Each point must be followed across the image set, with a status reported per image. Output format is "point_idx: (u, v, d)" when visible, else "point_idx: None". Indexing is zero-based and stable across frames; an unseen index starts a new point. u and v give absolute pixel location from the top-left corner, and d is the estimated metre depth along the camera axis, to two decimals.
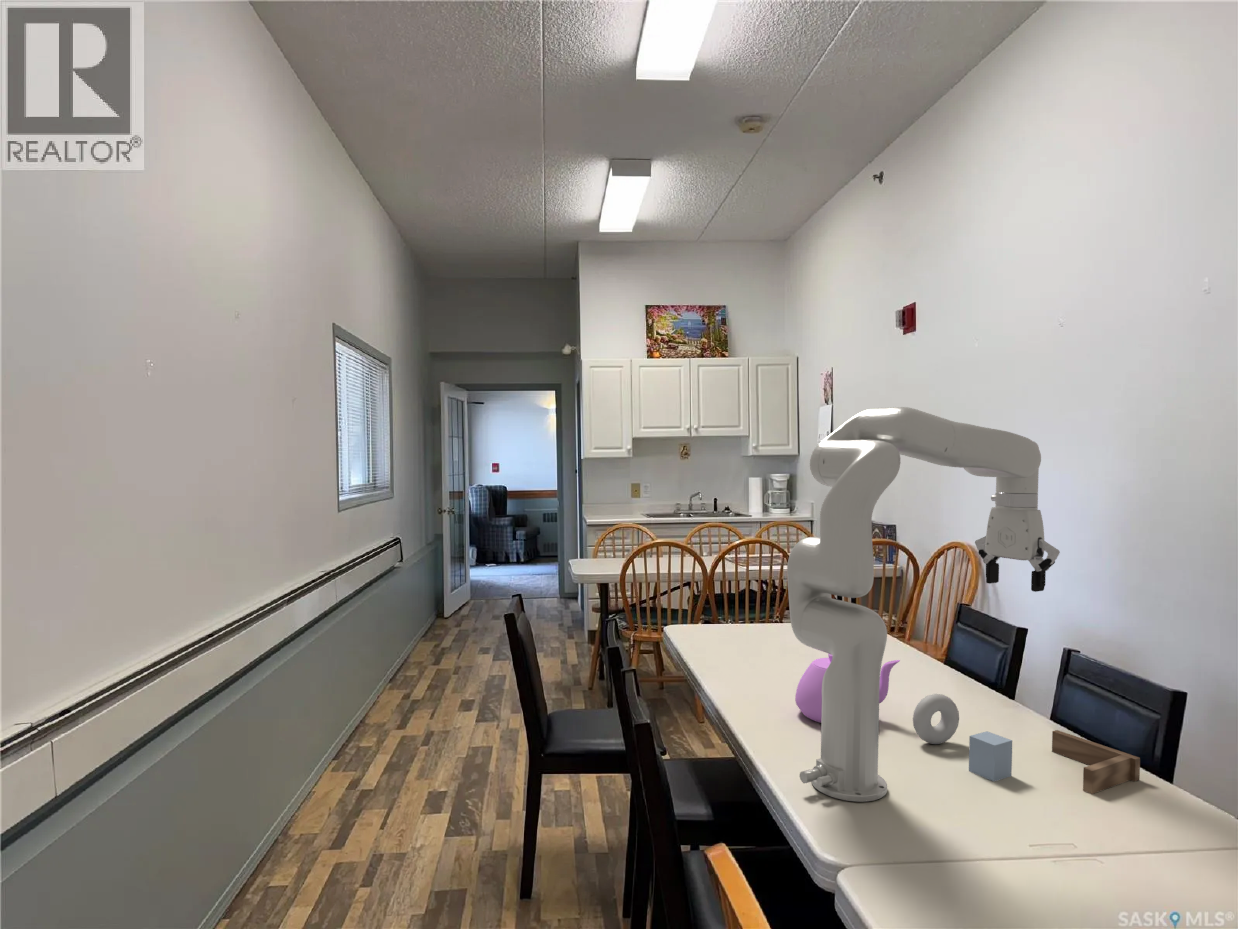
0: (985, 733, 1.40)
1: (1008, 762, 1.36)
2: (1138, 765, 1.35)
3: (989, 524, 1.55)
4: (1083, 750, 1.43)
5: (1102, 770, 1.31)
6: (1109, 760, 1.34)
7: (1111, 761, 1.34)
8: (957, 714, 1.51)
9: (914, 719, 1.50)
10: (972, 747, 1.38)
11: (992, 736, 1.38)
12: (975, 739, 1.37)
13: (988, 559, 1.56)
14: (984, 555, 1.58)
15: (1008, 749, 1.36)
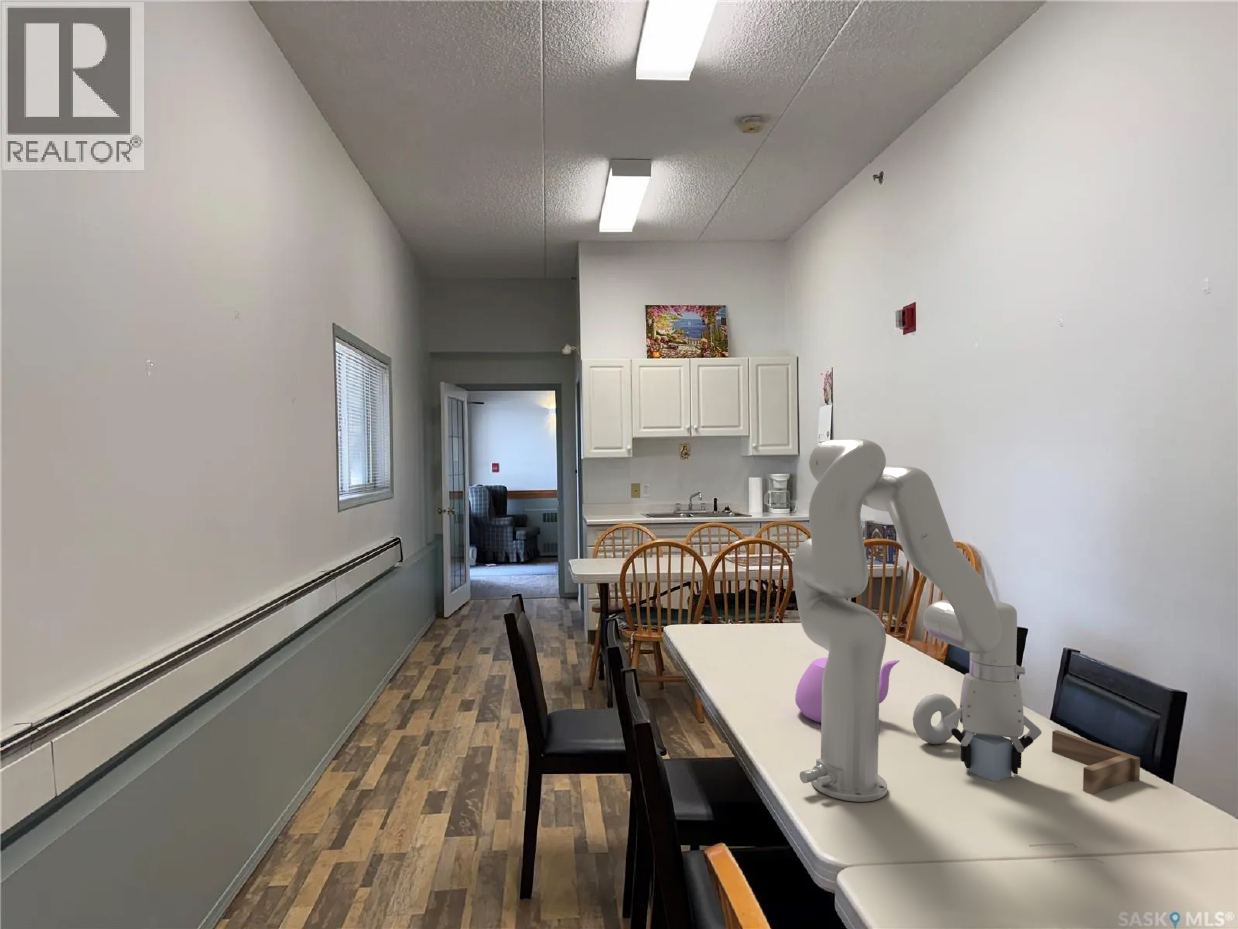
0: None
1: (1008, 762, 1.36)
2: (1138, 765, 1.35)
3: None
4: (1083, 750, 1.43)
5: (1102, 770, 1.31)
6: (1109, 760, 1.34)
7: (1111, 761, 1.34)
8: None
9: (914, 719, 1.50)
10: (972, 747, 1.38)
11: (992, 736, 1.38)
12: (975, 739, 1.37)
13: None
14: None
15: (1008, 749, 1.36)
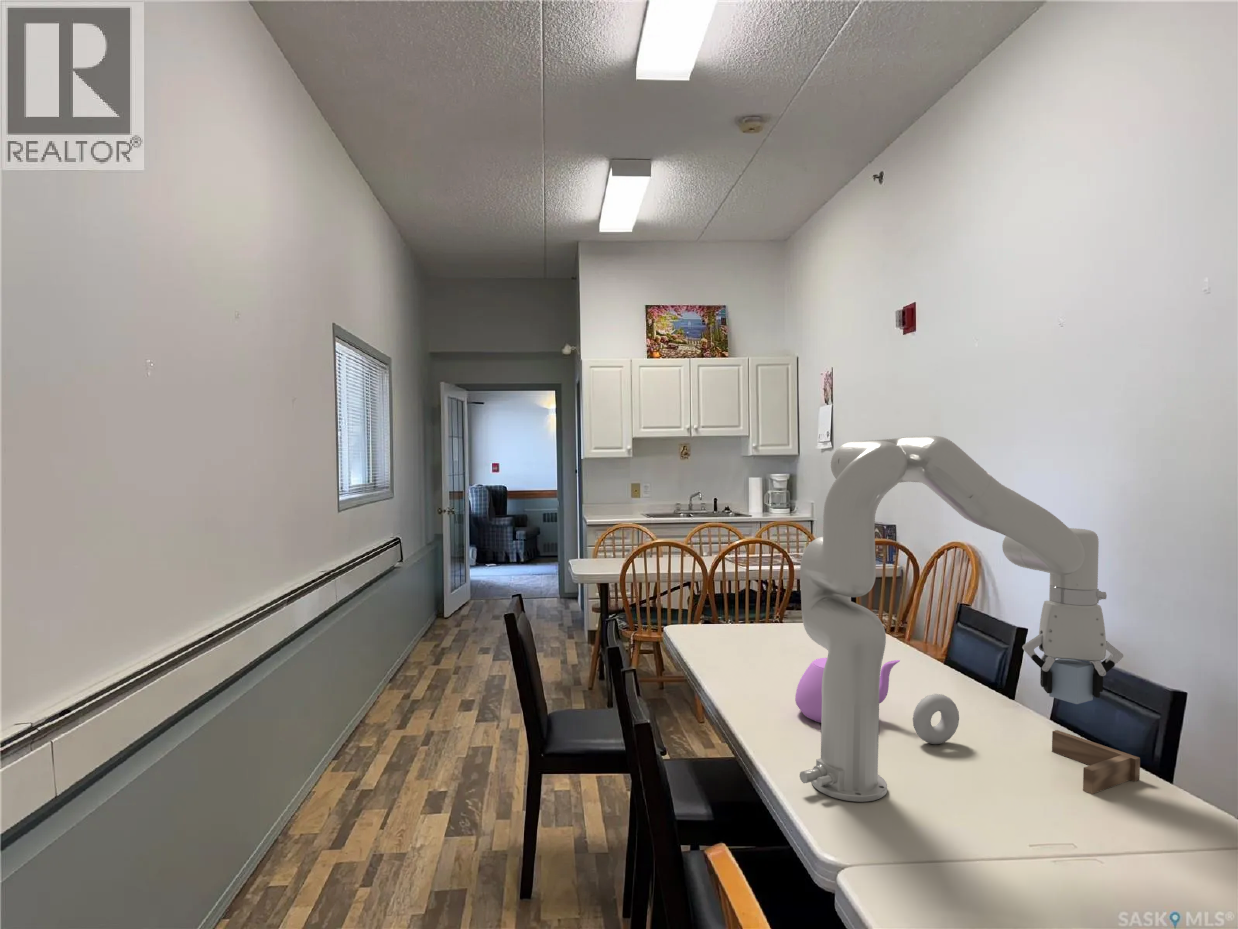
0: (1065, 659, 1.41)
1: (1090, 686, 1.37)
2: (1138, 765, 1.35)
3: None
4: (1083, 750, 1.43)
5: (1102, 770, 1.31)
6: (1109, 760, 1.34)
7: (1111, 761, 1.34)
8: (957, 714, 1.51)
9: (914, 719, 1.50)
10: (1052, 672, 1.39)
11: (1072, 661, 1.40)
12: (1056, 664, 1.39)
13: None
14: None
15: (1090, 673, 1.37)
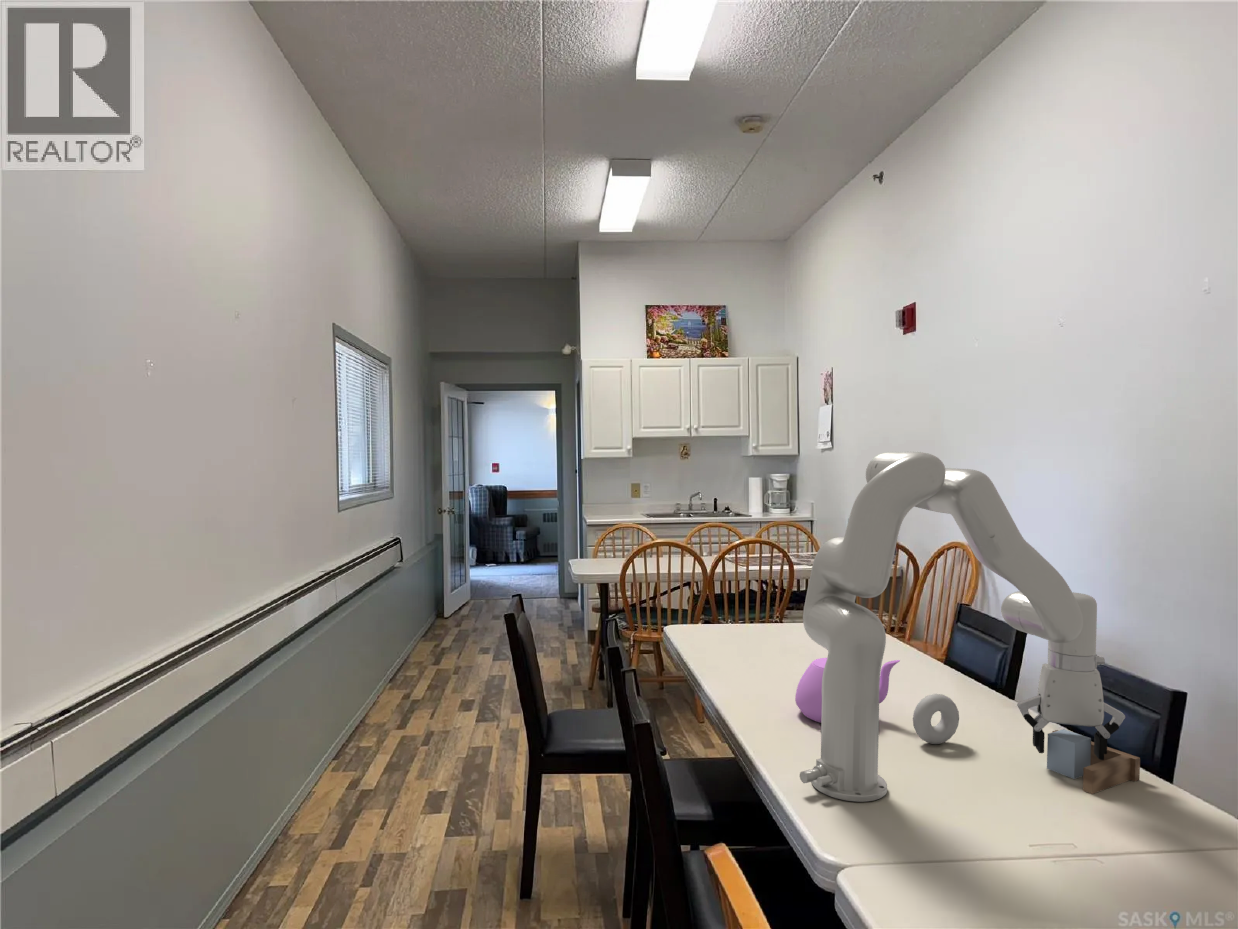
0: (1062, 731, 1.41)
1: (1087, 760, 1.38)
2: (1138, 765, 1.35)
3: None
4: None
5: (1102, 770, 1.31)
6: (1109, 760, 1.34)
7: (1111, 761, 1.34)
8: (957, 714, 1.51)
9: (914, 719, 1.50)
10: (1050, 745, 1.40)
11: (1070, 734, 1.40)
12: (1054, 737, 1.39)
13: None
14: None
15: (1087, 747, 1.38)
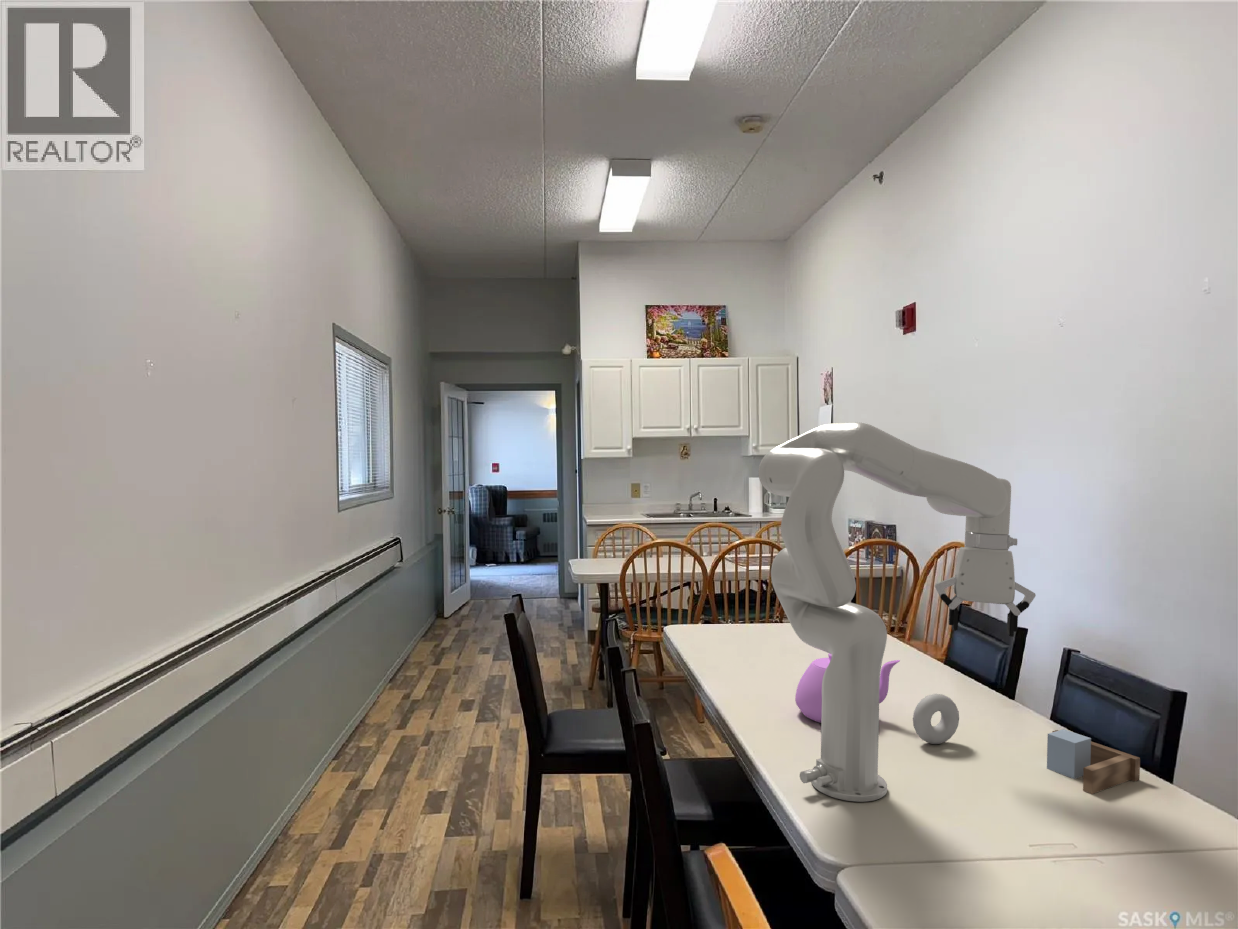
0: (1062, 731, 1.41)
1: (1087, 760, 1.38)
2: (1138, 765, 1.35)
3: None
4: None
5: (1102, 770, 1.31)
6: (1109, 760, 1.34)
7: (1111, 761, 1.34)
8: (957, 714, 1.51)
9: (914, 719, 1.50)
10: (1050, 745, 1.40)
11: (1070, 734, 1.40)
12: (1054, 737, 1.39)
13: None
14: None
15: (1087, 747, 1.38)
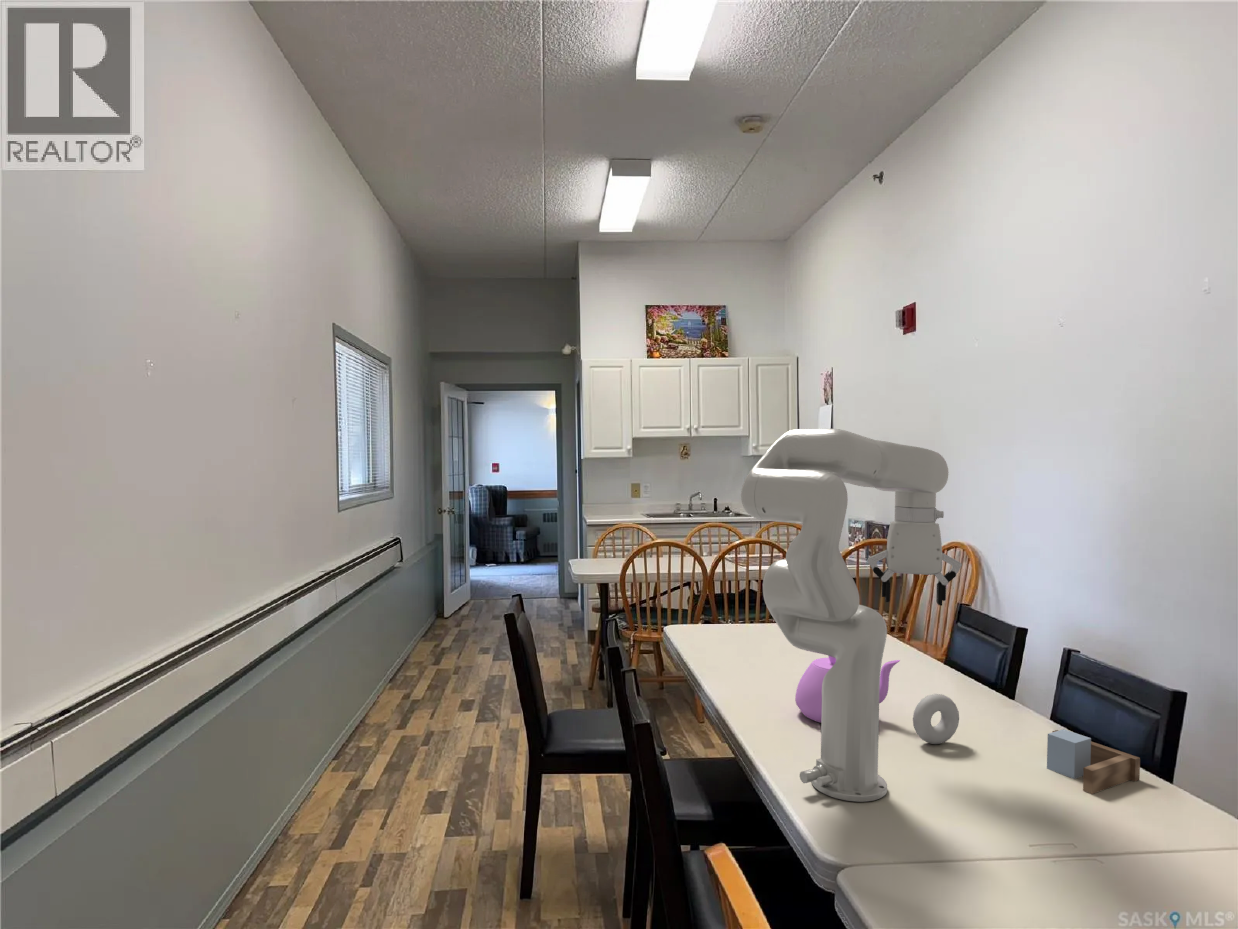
0: (1062, 731, 1.41)
1: (1087, 760, 1.38)
2: (1138, 765, 1.35)
3: None
4: None
5: (1102, 770, 1.31)
6: (1109, 760, 1.34)
7: (1111, 761, 1.34)
8: (957, 714, 1.51)
9: (914, 719, 1.50)
10: (1050, 745, 1.40)
11: (1070, 734, 1.40)
12: (1054, 737, 1.39)
13: None
14: None
15: (1087, 747, 1.38)
